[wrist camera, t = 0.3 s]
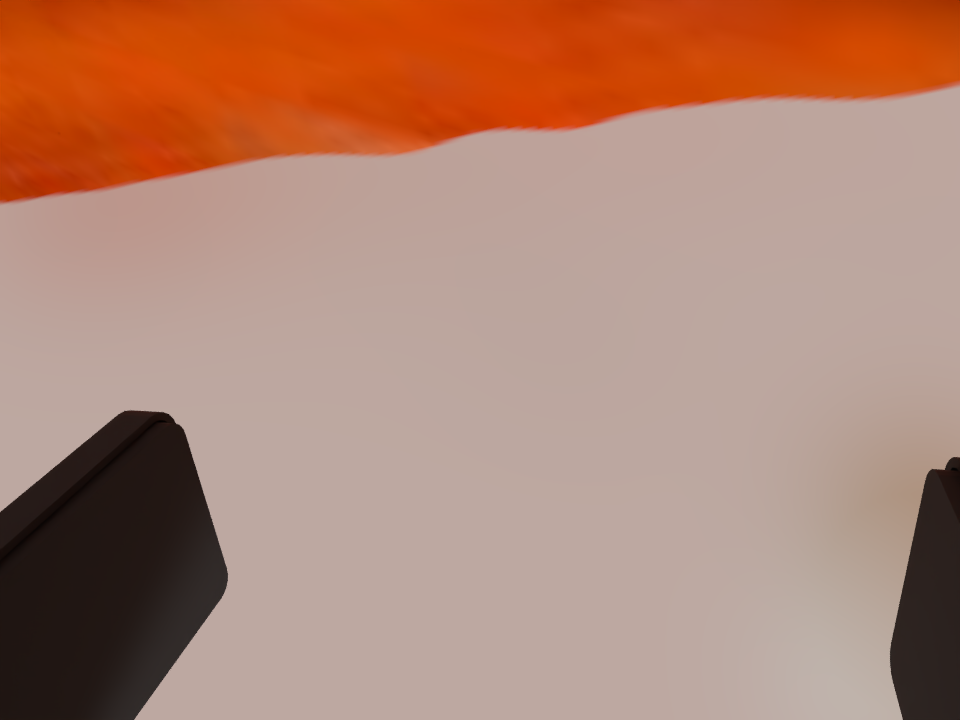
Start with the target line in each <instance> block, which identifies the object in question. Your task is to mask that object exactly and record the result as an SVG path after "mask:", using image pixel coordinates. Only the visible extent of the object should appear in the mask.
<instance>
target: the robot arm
mask: <svg viewBox="0 0 960 720" xmlns="http://www.w3.org/2000/svg"><path fill="white" fill-rule="evenodd" d="M227 581H228V573H227V568H226V565H225V561H224V558H223V555H222V551H221V548H220V545H219V542H218V538H217V535H216V532H215V529H214V525H213V522H212V519H211V516H210V512H209V509H208V506H207V503H206V500H205V496H204V493H203V490H202V487H201V483H200V480H199V477H198V474H197V470H196V467H195V464H194V461H193V458H192V454H191V451H190V448H189V444H188V441H187V438H186V435H185V432H184V430H183V428H182V427H181V426H180V425H178V424H176V423H175V421H174V419H173V418H172V417H171V416H170V415H169V414H167V413H164V412H149V411H124V412H122V413H120V414H119V415H118V416H116V417H115V418H114V419H112V420H111V421H110V422H109V423H108V424H107V425H105V426H104V427H103V428H102V429H100V430H99V431H98V432H97V433H95V434H94V435H93V436H92V437H91V438H90V439H88V440H87V441H86V442H85V443H83V444H82V445H81V446H80V447H78V448H77V449H76V450H75V451H74V452H72V453H71V454H70V455H69V456H68V457H66V458H65V459H64V460H63V461H62V462H60V463H59V464H58V465H57V466H55V467H54V468H53V469H52V470H51V471H49V472H48V473H47V474H46V475H45V476H43V477H42V478H41V479H40V480H39V481H37V482H36V483H35V484H34V485H33V486H31V487H30V488H29V489H28V490H26V492H24V493H23V494H22V495H20V496H19V497H18V498H17V499H16V500H15V501H13V502H12V503H11V504H10V505H8V506H7V507H6V508H5V509H4V510H2V511H1V512H0V720H134V719H135V718H136V716H137V715H138V713H139V712H140V711H141V709H142V708H143V706H144V705H145V704H146V702H147V701H148V699H149V698H150V697H151V695H152V694H153V692H154V691H155V690H156V688H157V687H158V686H159V684H160V682H161V681H162V680H163V678H164V677H165V676H166V674H167V673H168V671H169V670H170V669H171V667H172V666H173V665H174V663H175V662H176V661H177V659H178V658H179V656H180V655H181V653H182V652H183V651H184V649H185V648H186V647H187V645H188V644H189V642H190V641H191V640H192V638H193V637H194V635H195V634H196V633H197V631H198V630H199V629H200V627H201V626H202V624H203V623H204V622H205V620H206V619H207V617H208V616H209V615H210V613H211V612H212V610H213V609H214V608H215V606H216V605H217V603H218V602H219V601H220V599H221V598H222V596H223V594H224V592H225V589H226V586H227ZM890 666H891V675H892V679H893V684H894V687H895V691H896V695H897V699H898V702H899V706H900V710H901V714H902V717H903V720H960V458H959V457H953V458H951V459H950V460H949V462H948V463H947V465H946V468H945V470H937V469H932V470H930V471H929V473H928V474H927V477H926V480H925V484H924V489H923V494H922V499H921V504H920V508H919V514H918V518H917V523H916V528H915V533H914V537H913V542H912V546H911V552H910V556H909V561H908V566H907V570H906V576H905V580H904V585H903V589H902V594H901V599H900V604H899V609H898V613H897V618H896V623H895V628H894V632H893V638H892V642H891V649H890Z"/></svg>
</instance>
